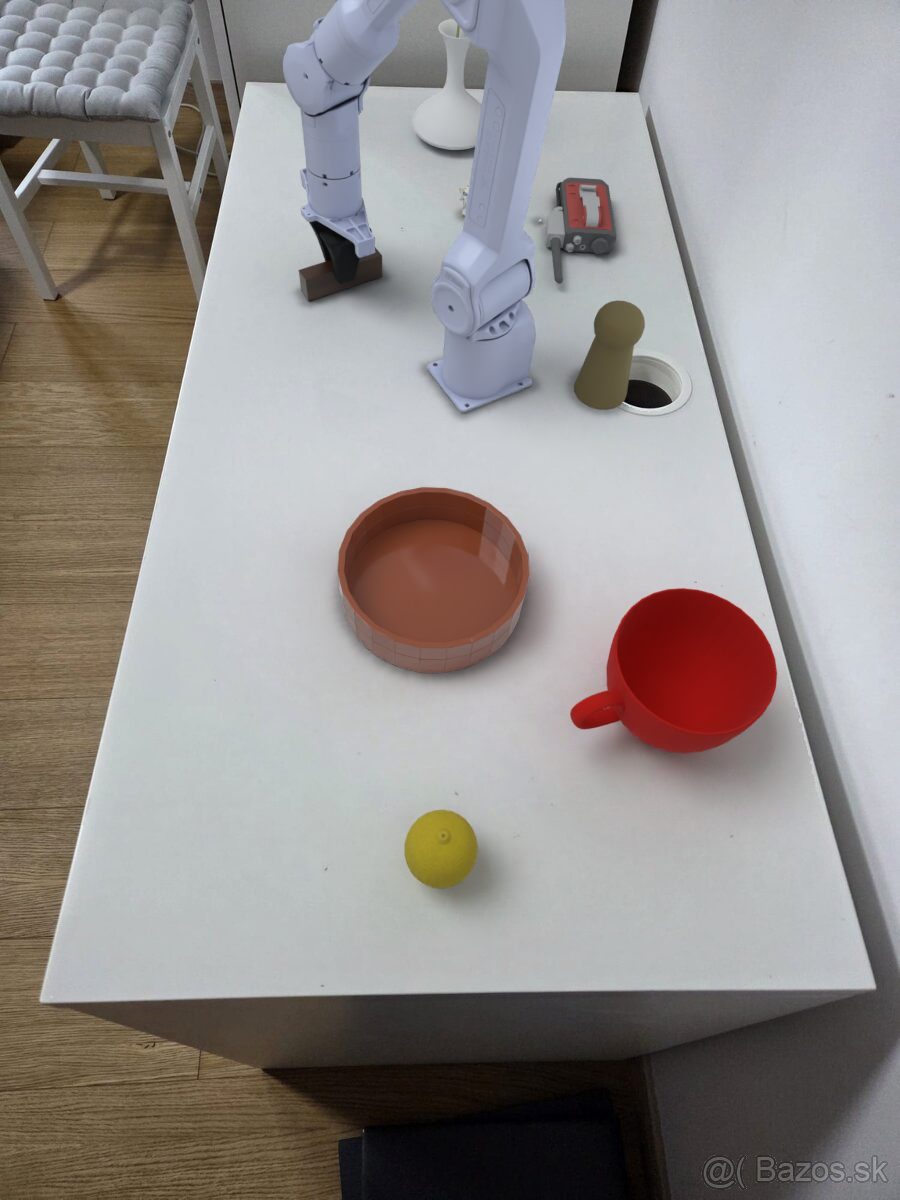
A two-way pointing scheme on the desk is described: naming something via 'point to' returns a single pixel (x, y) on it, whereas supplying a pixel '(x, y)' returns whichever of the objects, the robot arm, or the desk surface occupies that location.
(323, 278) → the brown rectangular block
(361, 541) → the bowl
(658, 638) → the ceramic cup
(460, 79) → the flower in vase
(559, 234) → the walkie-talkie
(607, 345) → the olive brown pawn
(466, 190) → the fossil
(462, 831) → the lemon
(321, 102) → the robot arm
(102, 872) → the desk surface
